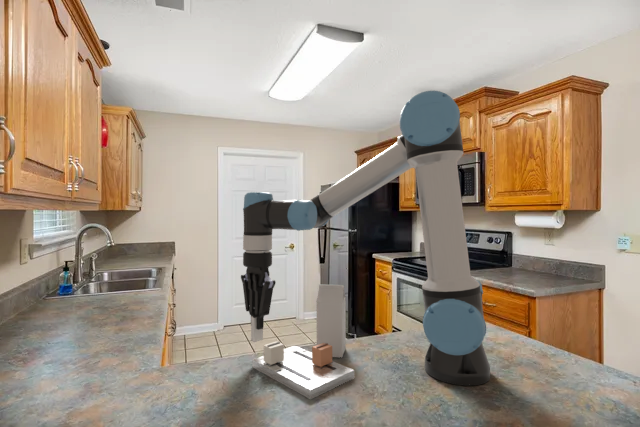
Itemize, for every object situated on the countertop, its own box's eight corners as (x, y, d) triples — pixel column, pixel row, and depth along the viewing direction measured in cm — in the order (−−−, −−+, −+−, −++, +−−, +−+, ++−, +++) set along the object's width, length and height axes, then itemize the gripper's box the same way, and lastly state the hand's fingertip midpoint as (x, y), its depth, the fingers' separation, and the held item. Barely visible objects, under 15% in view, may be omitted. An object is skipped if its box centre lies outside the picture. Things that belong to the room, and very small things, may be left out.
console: (354, 378, 86) (354, 369, 86) (310, 399, 76) (310, 389, 76) (295, 352, 102) (294, 345, 102) (252, 367, 92) (252, 359, 92)
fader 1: (283, 360, 91) (283, 343, 91) (270, 364, 88) (270, 347, 88) (276, 356, 93) (276, 340, 93) (263, 361, 90) (263, 343, 90)
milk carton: (342, 358, 98) (342, 288, 98) (316, 356, 99) (316, 286, 99) (345, 348, 105) (345, 282, 105) (321, 346, 106) (321, 282, 106)
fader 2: (332, 362, 90) (332, 344, 90) (320, 366, 87) (320, 348, 87) (323, 358, 92) (323, 341, 92) (312, 363, 89) (312, 345, 89)
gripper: (284, 252, 94) (283, 343, 94) (255, 248, 103) (255, 331, 103) (259, 254, 88) (258, 351, 89) (232, 249, 98) (231, 337, 98)
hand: (256, 340), depth 96 cm, fingers closed
